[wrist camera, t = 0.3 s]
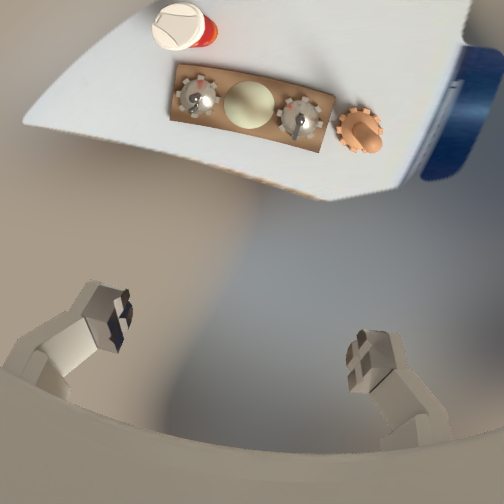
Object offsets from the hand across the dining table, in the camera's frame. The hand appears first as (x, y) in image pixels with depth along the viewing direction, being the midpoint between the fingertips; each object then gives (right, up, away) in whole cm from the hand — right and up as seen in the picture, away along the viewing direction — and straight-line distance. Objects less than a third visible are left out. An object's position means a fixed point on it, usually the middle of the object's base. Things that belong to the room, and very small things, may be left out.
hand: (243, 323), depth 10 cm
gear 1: (-9, +30, +37) cm, 48 cm away
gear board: (0, +29, +38) cm, 48 cm away
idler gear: (+20, +25, +38) cm, 50 cm away
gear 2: (+9, +26, +37) cm, 46 cm away
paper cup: (-8, +41, +31) cm, 52 cm away
